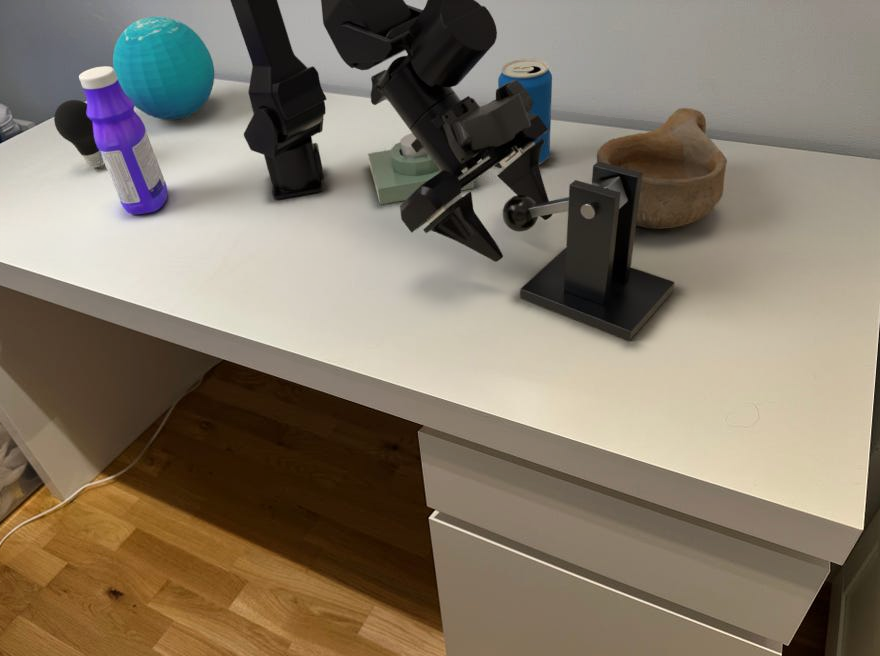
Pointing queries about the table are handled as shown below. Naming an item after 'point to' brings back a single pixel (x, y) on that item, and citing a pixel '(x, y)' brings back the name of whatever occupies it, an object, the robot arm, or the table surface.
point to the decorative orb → (163, 67)
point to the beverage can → (533, 91)
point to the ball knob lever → (547, 206)
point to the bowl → (672, 169)
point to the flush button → (410, 147)
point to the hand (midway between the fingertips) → (525, 238)
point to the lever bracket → (600, 261)
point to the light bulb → (78, 130)
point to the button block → (401, 174)
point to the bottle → (123, 142)
